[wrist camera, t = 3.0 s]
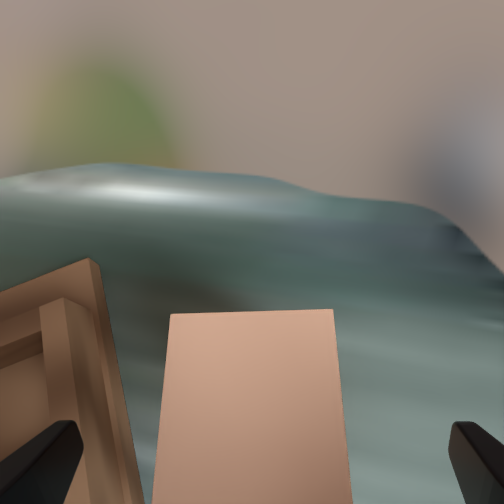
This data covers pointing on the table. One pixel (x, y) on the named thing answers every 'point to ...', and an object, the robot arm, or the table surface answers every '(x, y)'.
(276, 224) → the table surface
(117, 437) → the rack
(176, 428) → the clay bar
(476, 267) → the table surface
